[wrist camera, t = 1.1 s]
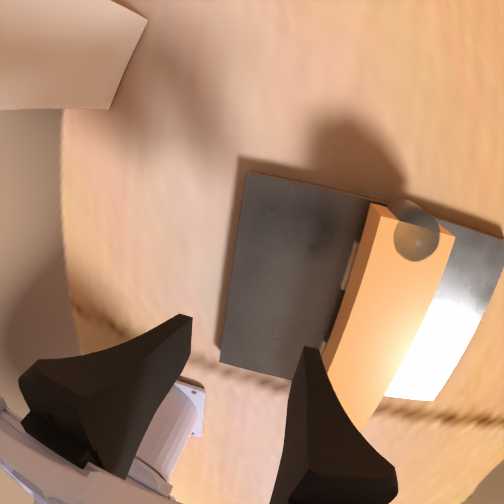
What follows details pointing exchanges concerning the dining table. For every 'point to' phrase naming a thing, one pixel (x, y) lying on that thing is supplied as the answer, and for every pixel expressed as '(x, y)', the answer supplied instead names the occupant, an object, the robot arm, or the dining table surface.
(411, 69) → the dining table surface
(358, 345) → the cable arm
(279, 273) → the server tray
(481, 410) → the dining table surface
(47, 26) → the milk carton
